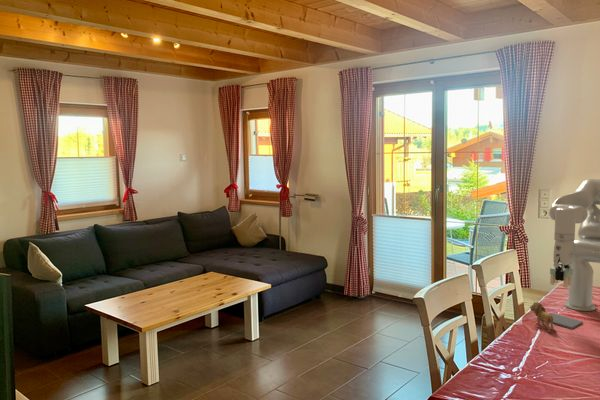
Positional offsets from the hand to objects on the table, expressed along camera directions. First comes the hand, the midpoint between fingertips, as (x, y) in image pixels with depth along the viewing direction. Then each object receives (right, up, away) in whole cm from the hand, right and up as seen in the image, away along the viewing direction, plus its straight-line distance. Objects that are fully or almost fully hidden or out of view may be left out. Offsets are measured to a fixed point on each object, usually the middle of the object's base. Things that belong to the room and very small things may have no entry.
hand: (562, 278), depth 204 cm
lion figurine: (-10, -20, -3) cm, 22 cm away
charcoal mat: (0, -19, +2) cm, 19 cm away
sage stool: (0, -3, +1) cm, 3 cm away
